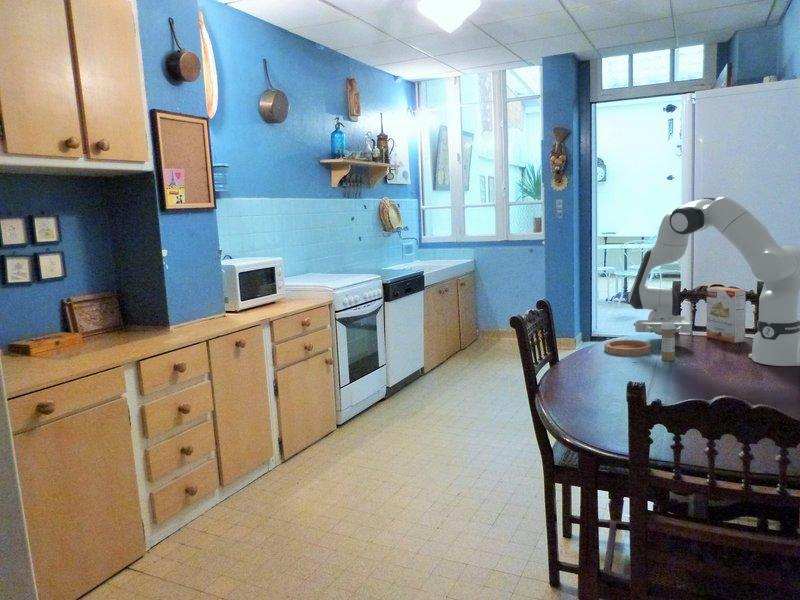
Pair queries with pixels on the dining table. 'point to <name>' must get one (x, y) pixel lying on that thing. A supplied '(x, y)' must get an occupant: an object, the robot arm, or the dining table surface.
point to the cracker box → (726, 314)
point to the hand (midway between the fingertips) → (664, 330)
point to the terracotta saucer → (628, 347)
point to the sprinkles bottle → (668, 341)
